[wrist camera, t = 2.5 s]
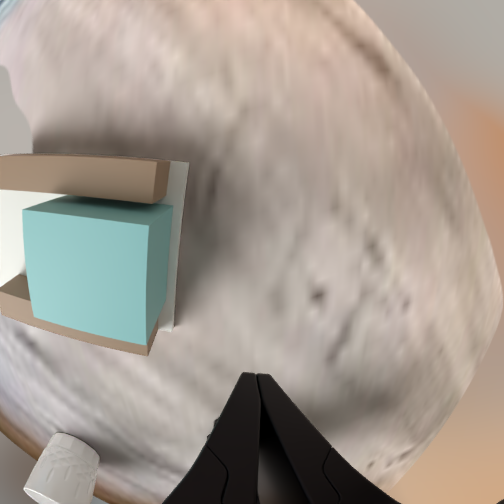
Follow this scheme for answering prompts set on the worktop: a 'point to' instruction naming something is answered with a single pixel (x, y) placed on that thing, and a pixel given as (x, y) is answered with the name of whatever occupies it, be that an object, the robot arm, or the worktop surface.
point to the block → (98, 264)
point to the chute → (89, 185)
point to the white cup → (64, 472)
